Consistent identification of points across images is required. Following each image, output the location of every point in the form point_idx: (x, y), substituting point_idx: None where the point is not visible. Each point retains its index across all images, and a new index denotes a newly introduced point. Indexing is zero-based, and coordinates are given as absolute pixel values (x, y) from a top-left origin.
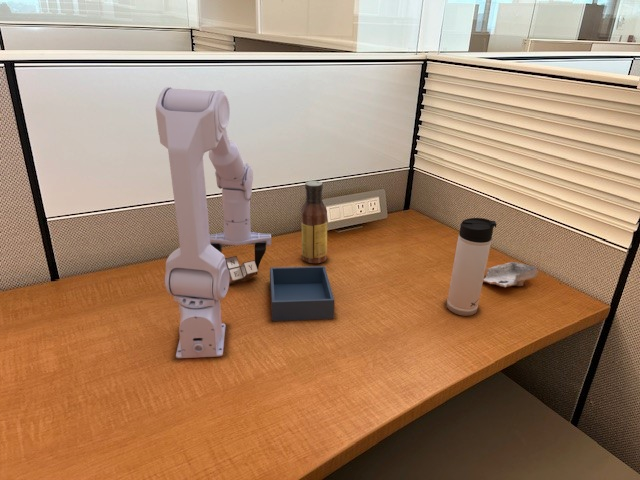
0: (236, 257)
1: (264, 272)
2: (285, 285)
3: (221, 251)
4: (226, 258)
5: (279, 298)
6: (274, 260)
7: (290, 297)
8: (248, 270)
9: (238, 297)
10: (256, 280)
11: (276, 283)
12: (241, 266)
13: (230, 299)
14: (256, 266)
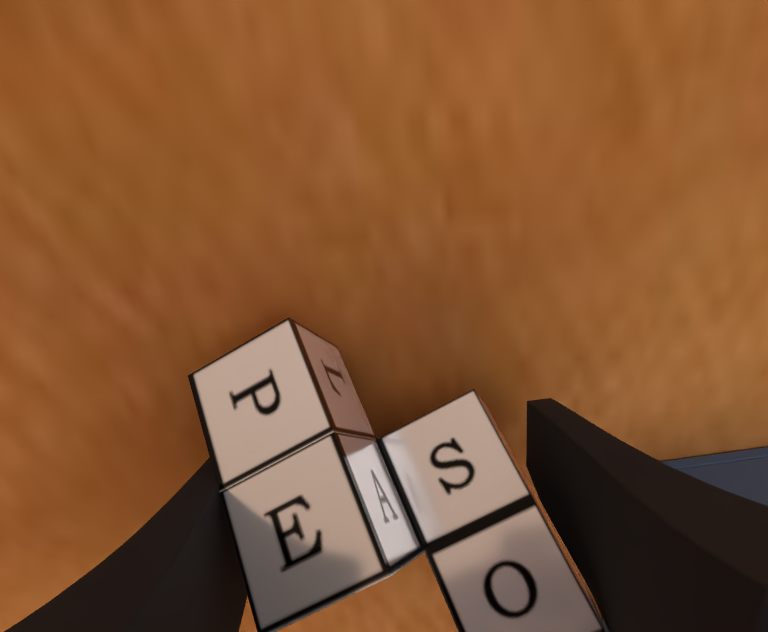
0: (389, 574)
1: (591, 296)
2: None
3: (168, 630)
4: (275, 629)
5: None
6: (718, 29)
7: None
8: None
9: (413, 604)
10: (522, 420)
11: None
12: (445, 591)
13: (369, 624)
14: (597, 612)
